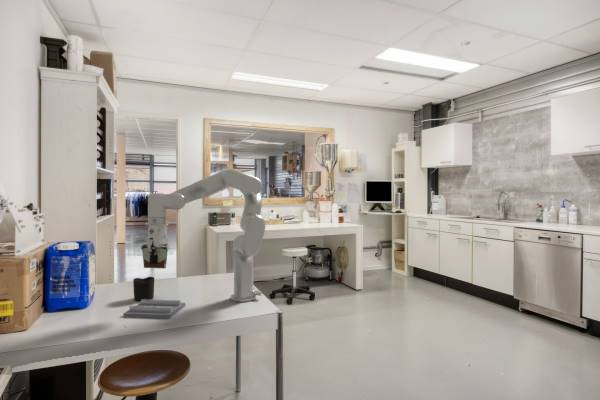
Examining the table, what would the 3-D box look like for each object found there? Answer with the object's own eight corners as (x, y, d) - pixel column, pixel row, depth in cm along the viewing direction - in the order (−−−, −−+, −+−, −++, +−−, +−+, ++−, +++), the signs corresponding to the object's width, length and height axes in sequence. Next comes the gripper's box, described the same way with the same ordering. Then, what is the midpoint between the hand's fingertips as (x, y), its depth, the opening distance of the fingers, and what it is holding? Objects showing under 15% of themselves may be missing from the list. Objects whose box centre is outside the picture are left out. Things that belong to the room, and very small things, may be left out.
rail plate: (185, 305, 158) (185, 298, 158) (169, 318, 142) (169, 310, 142) (143, 304, 160) (143, 297, 160) (123, 316, 144) (123, 308, 144)
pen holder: (146, 302, 162) (146, 281, 162) (128, 301, 164) (128, 280, 164) (158, 297, 171) (158, 277, 171) (141, 295, 173) (141, 276, 173)
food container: (174, 265, 154) (174, 243, 153) (167, 268, 147) (167, 245, 147) (148, 264, 155) (148, 242, 155) (140, 267, 149) (140, 244, 148)
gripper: (156, 223, 141) (155, 266, 142) (173, 220, 159) (173, 259, 159) (138, 222, 142) (138, 266, 142) (158, 219, 159) (157, 258, 159)
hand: (156, 262), depth 150 cm, fingers closed on food container, 5 cm apart
